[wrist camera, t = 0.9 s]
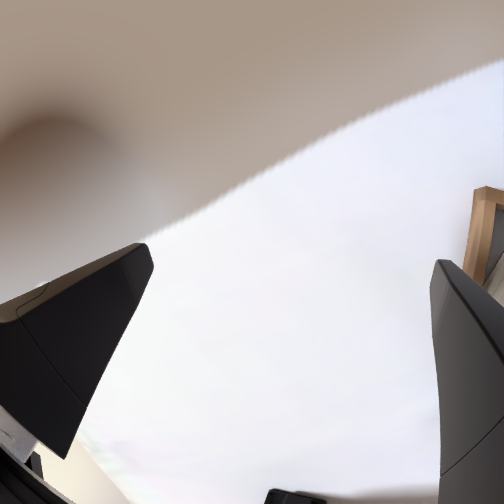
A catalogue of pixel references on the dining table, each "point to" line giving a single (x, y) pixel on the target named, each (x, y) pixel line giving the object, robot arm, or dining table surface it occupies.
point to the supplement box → (496, 282)
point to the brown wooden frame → (481, 231)
